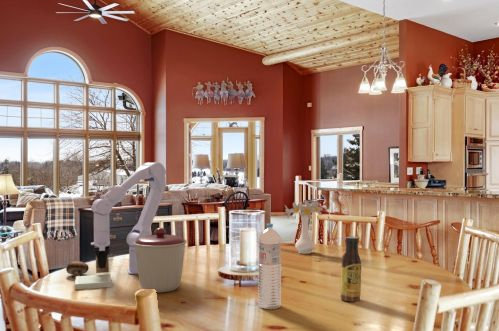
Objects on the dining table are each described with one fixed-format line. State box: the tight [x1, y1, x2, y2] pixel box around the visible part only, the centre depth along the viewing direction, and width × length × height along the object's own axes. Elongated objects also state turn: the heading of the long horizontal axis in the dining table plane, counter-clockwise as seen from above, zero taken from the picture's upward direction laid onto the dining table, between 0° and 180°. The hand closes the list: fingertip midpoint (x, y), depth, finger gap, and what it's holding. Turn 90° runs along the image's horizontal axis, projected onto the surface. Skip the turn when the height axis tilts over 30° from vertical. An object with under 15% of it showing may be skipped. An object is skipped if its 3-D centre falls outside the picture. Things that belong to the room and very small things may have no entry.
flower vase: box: [284, 200, 324, 255], centre depth 232 cm, size 13×18×25 cm
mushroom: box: [65, 260, 89, 277], centre depth 185 cm, size 8×8×6 cm
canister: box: [133, 227, 188, 294], centre depth 166 cm, size 18×18×21 cm
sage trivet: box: [74, 273, 112, 290], centre depth 172 cm, size 12×12×2 cm
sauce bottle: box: [340, 236, 362, 303], centre depth 153 cm, size 7×6×20 cm
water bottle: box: [257, 223, 282, 310], centre depth 146 cm, size 7×7×25 cm
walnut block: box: [95, 256, 110, 274], centre depth 183 cm, size 4×4×5 cm
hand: (102, 266), depth 183 cm, fingers closed on walnut block, 4 cm apart
